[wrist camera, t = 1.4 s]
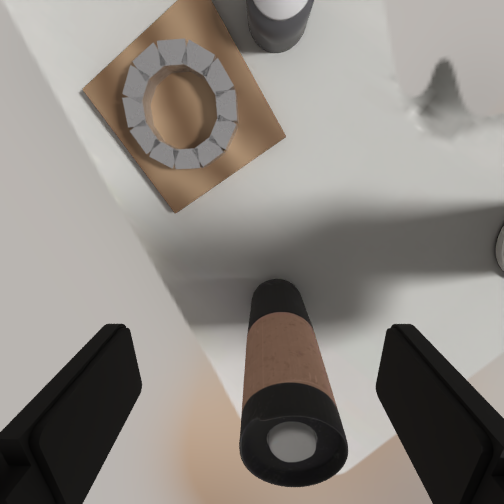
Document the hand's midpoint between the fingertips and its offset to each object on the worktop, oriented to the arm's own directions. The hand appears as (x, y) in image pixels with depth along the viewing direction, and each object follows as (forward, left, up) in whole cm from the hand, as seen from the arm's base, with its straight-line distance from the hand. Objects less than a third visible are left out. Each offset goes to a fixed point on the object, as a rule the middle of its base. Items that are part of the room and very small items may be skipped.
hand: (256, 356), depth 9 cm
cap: (-13, -17, -24) cm, 32 cm away
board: (0, -15, -24) cm, 28 cm away
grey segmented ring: (0, -15, -23) cm, 27 cm away
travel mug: (+4, +11, -24) cm, 27 cm away
